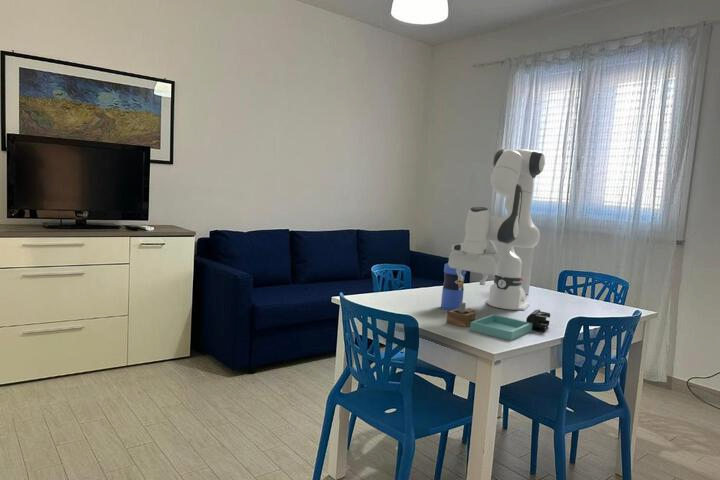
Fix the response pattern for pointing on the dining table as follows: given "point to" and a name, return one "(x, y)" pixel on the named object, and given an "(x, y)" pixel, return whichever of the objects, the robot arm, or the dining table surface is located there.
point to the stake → (462, 308)
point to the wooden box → (461, 317)
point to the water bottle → (452, 289)
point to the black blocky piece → (539, 320)
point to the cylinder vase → (525, 266)
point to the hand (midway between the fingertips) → (471, 282)
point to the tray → (501, 327)
